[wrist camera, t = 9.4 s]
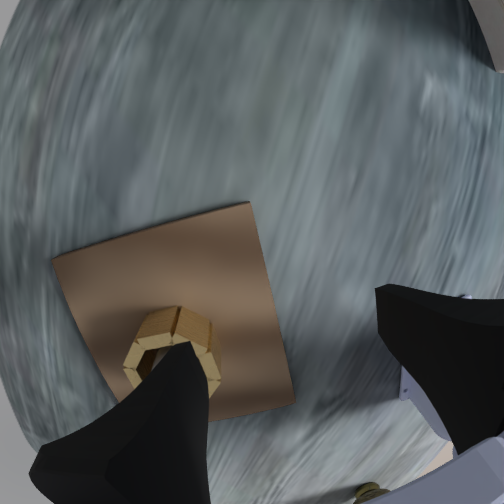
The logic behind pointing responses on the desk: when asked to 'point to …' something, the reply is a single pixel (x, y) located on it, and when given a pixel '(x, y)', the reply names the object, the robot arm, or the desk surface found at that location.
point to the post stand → (184, 302)
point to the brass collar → (170, 333)
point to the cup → (368, 492)
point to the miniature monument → (492, 28)
